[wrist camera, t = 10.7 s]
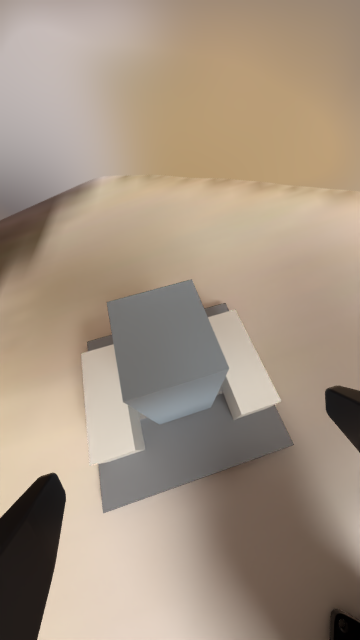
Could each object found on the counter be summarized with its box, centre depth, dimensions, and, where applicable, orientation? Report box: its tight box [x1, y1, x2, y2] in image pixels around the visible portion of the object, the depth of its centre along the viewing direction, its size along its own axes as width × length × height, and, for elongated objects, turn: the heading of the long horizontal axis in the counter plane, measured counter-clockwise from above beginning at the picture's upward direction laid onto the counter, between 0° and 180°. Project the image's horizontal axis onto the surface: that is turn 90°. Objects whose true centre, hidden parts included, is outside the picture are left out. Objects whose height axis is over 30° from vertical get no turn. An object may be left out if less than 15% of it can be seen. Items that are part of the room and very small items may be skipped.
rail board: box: [81, 303, 294, 513], centre depth 19 cm, size 14×15×4 cm
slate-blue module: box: [107, 279, 229, 425], centre depth 15 cm, size 5×4×11 cm
